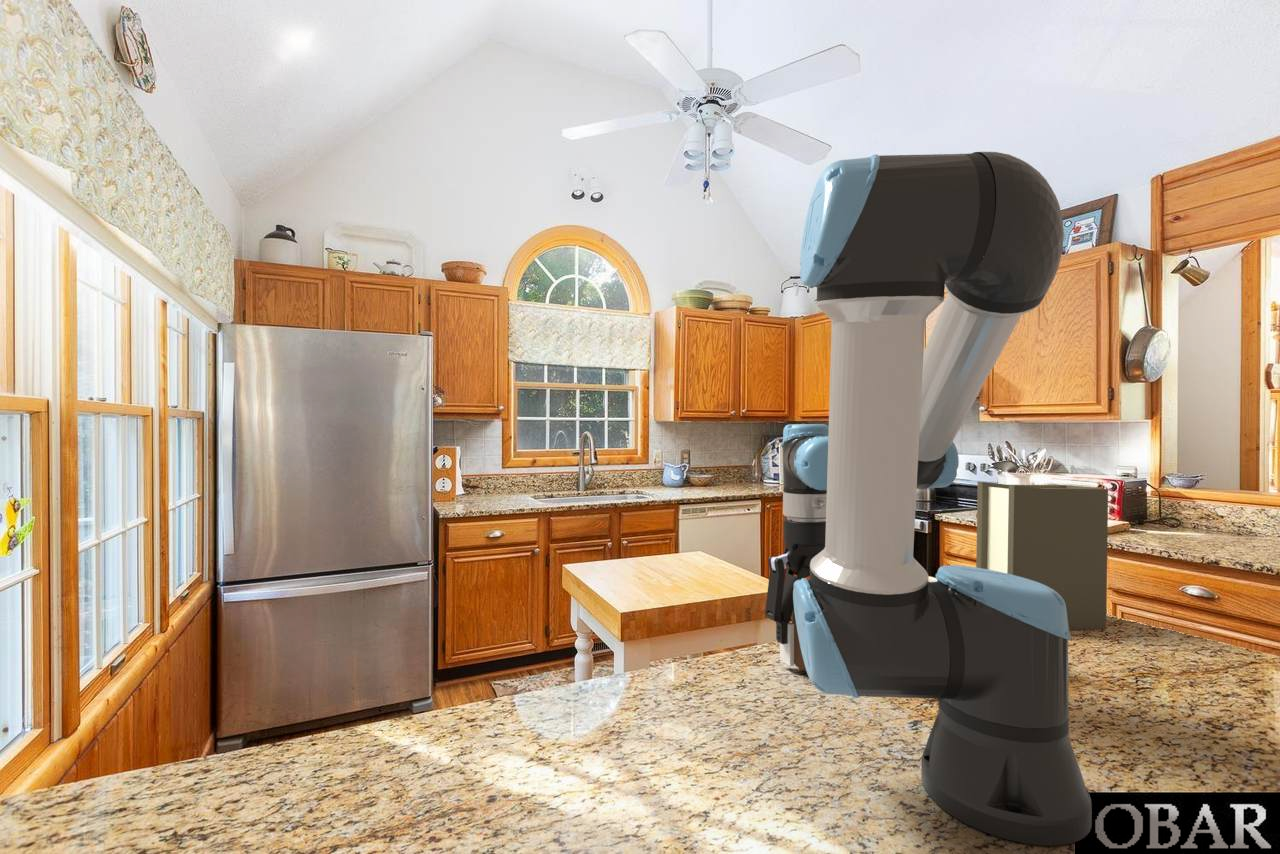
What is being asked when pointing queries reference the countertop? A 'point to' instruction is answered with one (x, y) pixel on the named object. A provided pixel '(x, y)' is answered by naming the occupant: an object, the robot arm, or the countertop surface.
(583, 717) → the countertop surface
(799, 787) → the countertop surface
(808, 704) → the countertop surface
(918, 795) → the countertop surface
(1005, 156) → the robot arm
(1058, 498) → the book
